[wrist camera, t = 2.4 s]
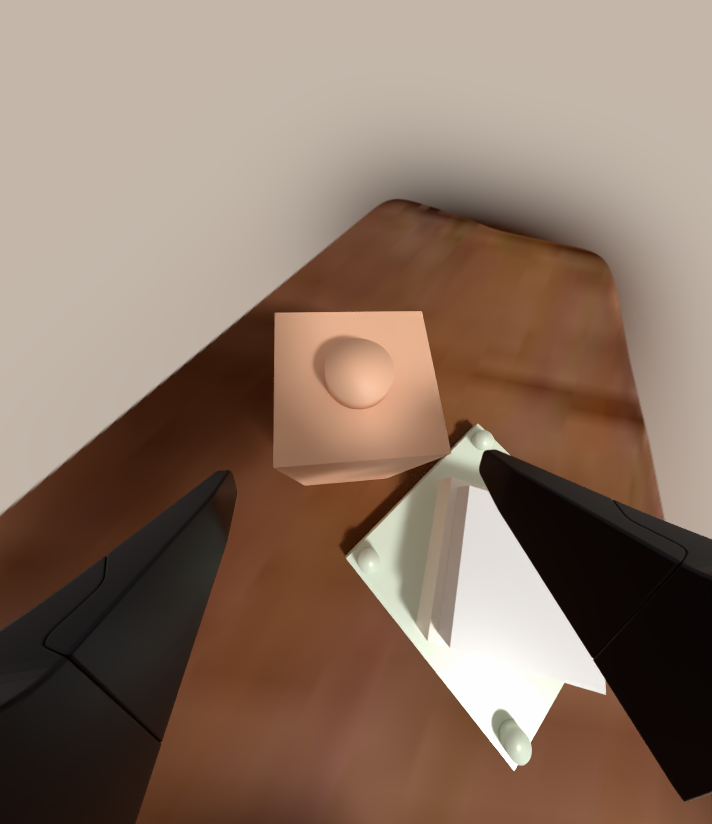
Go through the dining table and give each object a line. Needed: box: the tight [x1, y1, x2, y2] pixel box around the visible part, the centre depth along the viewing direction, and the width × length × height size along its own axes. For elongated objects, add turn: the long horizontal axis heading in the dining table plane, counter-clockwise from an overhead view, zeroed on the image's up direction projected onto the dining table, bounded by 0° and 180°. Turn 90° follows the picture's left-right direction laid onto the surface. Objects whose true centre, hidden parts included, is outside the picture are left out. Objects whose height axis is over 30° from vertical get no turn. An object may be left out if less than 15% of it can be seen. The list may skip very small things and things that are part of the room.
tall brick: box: [273, 311, 451, 486], centre depth 14 cm, size 6×6×12 cm
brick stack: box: [416, 477, 606, 695], centre depth 16 cm, size 9×9×4 cm
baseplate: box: [346, 424, 564, 770], centre depth 17 cm, size 14×14×2 cm
